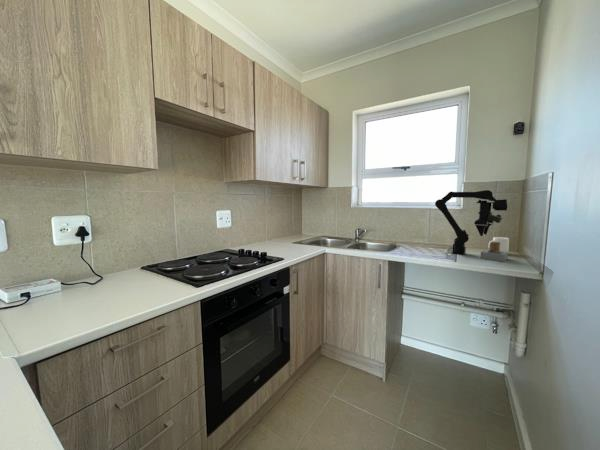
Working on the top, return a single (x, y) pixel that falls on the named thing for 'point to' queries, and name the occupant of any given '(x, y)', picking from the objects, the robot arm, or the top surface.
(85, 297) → the top surface
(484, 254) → the well block
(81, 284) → the top surface
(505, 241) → the mug
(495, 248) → the walnut post
